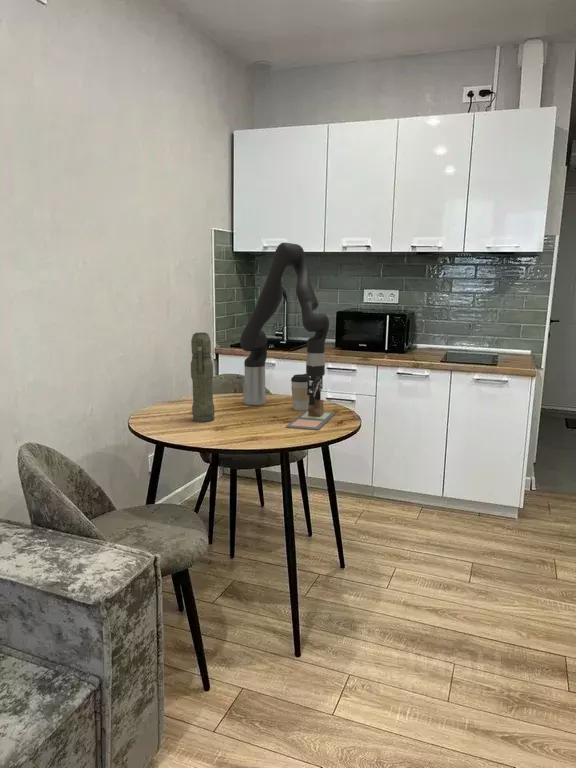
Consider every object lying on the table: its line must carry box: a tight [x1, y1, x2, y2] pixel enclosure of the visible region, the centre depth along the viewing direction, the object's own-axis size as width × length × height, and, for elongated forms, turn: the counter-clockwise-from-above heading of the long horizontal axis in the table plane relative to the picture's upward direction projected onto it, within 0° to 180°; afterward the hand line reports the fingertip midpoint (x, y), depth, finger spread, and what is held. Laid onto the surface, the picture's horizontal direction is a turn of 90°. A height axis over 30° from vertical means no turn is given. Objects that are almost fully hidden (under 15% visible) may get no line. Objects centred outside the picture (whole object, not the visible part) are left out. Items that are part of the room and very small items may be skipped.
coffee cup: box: [290, 373, 311, 412], centre depth 249 cm, size 9×9×15 cm
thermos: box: [190, 332, 216, 423], centre depth 229 cm, size 9×12×35 cm
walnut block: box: [307, 399, 324, 417], centre depth 235 cm, size 5×5×6 cm
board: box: [285, 410, 336, 431], centre depth 229 cm, size 13×26×1 cm, turn 162°
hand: (314, 402), depth 234 cm, fingers open, 8 cm apart
